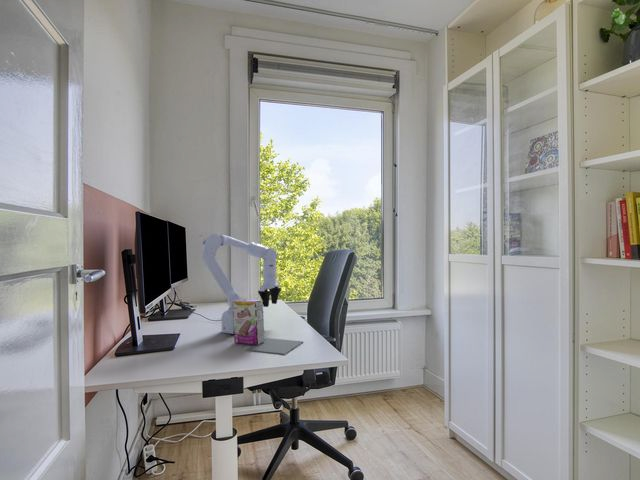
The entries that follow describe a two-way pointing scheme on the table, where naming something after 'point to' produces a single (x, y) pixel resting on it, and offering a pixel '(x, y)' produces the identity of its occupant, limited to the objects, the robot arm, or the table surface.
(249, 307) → the candy bar box
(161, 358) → the table surface
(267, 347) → the charcoal mat
